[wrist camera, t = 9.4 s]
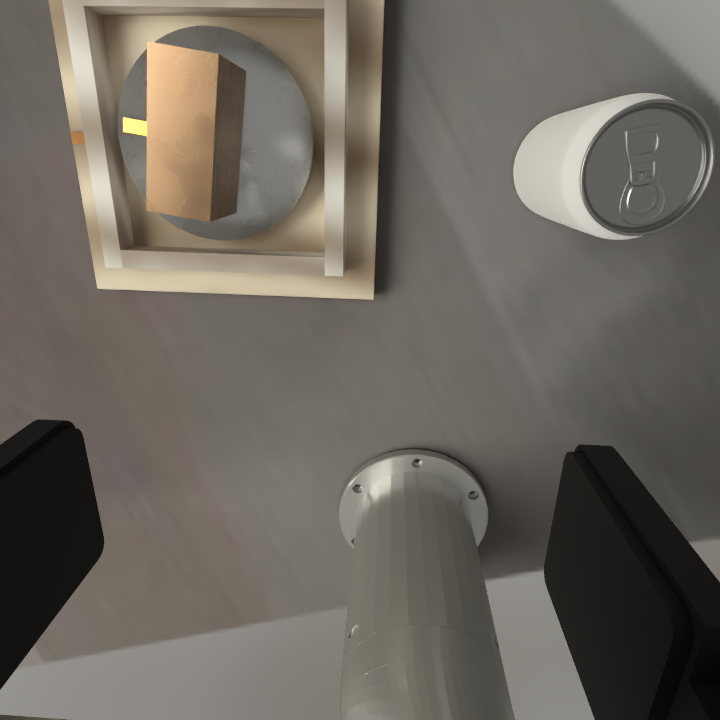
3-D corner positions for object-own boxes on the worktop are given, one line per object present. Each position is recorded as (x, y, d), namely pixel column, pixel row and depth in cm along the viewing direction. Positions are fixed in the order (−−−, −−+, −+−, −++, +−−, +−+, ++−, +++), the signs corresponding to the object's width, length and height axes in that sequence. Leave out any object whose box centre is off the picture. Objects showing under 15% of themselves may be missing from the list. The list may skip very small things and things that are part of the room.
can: (515, 226, 35) (573, 257, 23) (507, 124, 32) (567, 105, 21) (613, 208, 34) (721, 231, 23) (612, 102, 32) (731, 71, 20)
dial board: (374, 294, 37) (372, 307, 34) (108, 283, 38) (81, 295, 35) (386, -39, 30) (385, -64, 26) (55, -42, 31) (15, -66, 27)
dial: (327, 50, 30) (310, 21, 24) (303, 251, 34) (283, 271, 28) (128, 15, 30) (57, -24, 24) (130, 220, 34) (70, 234, 28)
